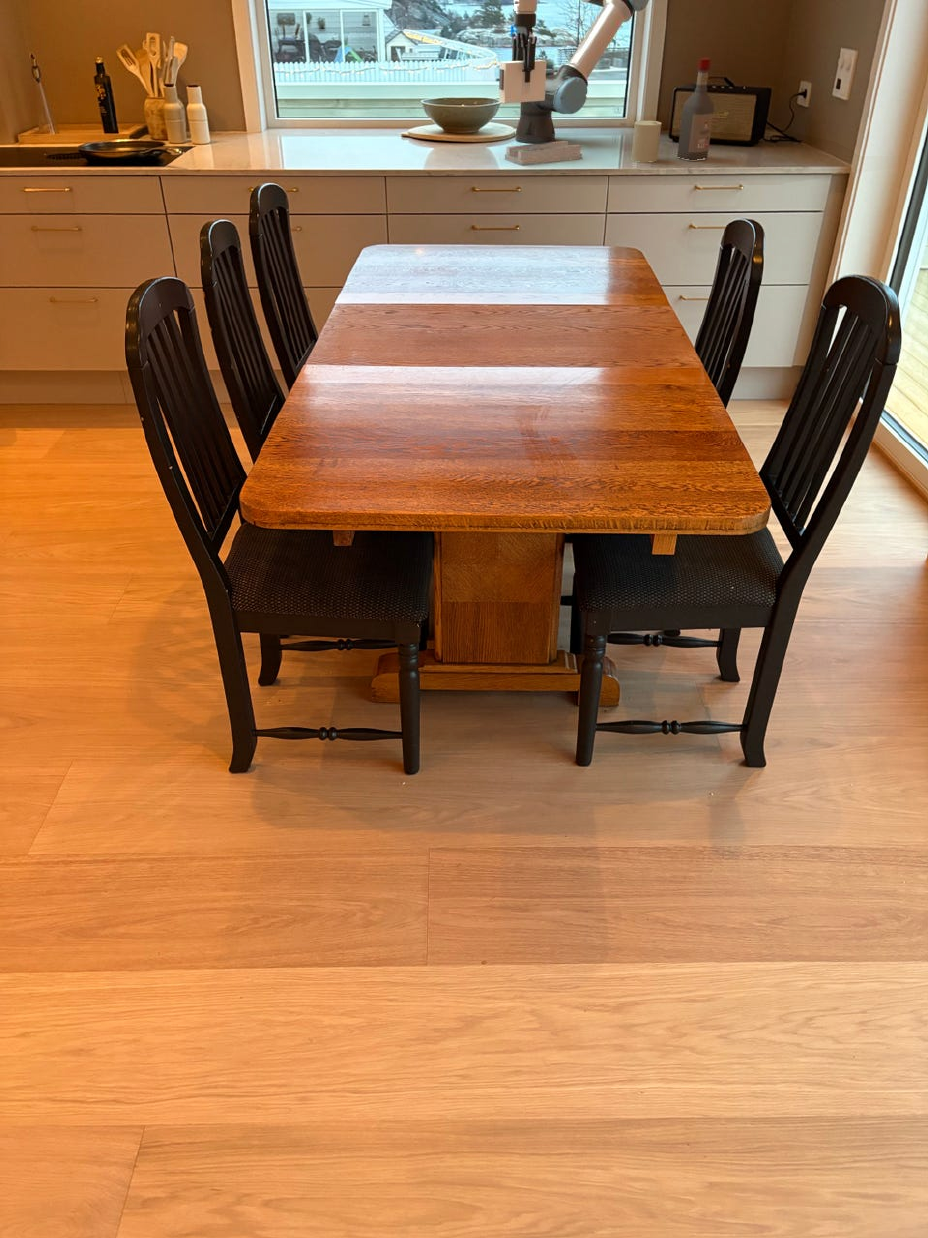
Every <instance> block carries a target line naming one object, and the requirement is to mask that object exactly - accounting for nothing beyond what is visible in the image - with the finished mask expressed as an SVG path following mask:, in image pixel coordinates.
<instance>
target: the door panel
mask: <svg viewBox="0 0 928 1238" xmlns="http://www.w3.org/2000/svg"><path fill="white" fill-rule="evenodd" d="M546 69H547V60H544V59H535V68H534V70H532V71H531V72H530V93H524V94H522V70H524V62H523V61H512V60H511V61H499V77H498V79H499V82H498V84H499V85H498V90H499V91H498V93H499V94H498V102H499V103H503V104H515V103H516V104H517V103H521V102H530V101H544V100H545V82H546Z"/></svg>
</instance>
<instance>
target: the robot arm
mask: <svg viewBox="0 0 928 1238" xmlns="http://www.w3.org/2000/svg"><path fill="white" fill-rule="evenodd" d="M580 1H581V2H583V3H589V4H592V5H595V6H599V7H601V8H602V9H601V11H600V12H599V14H598V15H597V17H596V18H595V20H594V22H592V25H591V26H590V28H589V29H588V31H587V32H586V35H585V36H584V38H583V39H582V40H581V42H580V43H579V45H578V47H577V49H576V51H575V52H574V53H573V55H572V57H571V58H570V60H569V61H568V63H563V64H561V66H560V68H559V69H558V71H557V72H556V73H555V71H554V69H553V68H546V82H545V100H544V101H530V102H520V112H519V113H520V117H519V120H518V123H517V126H516V130H515V132H516V136H515V135H514V140H515V141H517V142H521V143H525V144H526V143H527V144H540V143H549V142H555V140H556V131H555V127H554V122H553V118H552V114H553V113H558V114H559V115H560V114H562V115H574V114H576V113H578V112H579V111H580V110H581V109H582V108H583V107H584V105H585V103H586V101H587V95H588V87H589V82H588V79H589V77H590V75H591V74H592V72H593V71H594V69H595V67H596V66H597V64H598V63H599V61H600V59H601V58H602V56H603V55H604V53H605V51H606V50H607V48H608V47H609V45H610V43H611V42H612V40H613V39H614V37H615V36H616V34H617V32H618V31H619V29H620V28H621V27H622V24H623V23H628V22H629V21H630V20H631V19H632V17H633V15H634V13H635V12H641V11H643V10H644V9H645V8H646V7H647V6H648V3H649V1H650V0H580ZM513 6H514V7H513V10H514V12H515V13H514V14H513V26H514V27H516V31H515V33H511V39H512V40H511V41H512V45H511V46H512V51H511V54H512V55H511V58H512V59H511V61H523V62H524V70H522V94H524V93H530V72H531V71H532V70H534V68H535V60H536V51H537V50H536V47H537V46H536V45H537V41H538V36H536V35H533V34H534V32H533V27H535V26H536V25H537V14H536V12H537V11H538V10H537V7H538V0H513Z"/></svg>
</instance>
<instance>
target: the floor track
mask: <svg viewBox="0 0 928 1238" xmlns="http://www.w3.org/2000/svg"><path fill="white" fill-rule="evenodd" d="M581 146H582V145H580V144H571V145H570V144H569V141H567V140H561V141H560V140H559V141H552V142H546V143H529V144H522V145H520V144H519V145H512V146H506V150H505V151H506V152H505V154H504V160H506V161H509V162H511V163H514V164H517V165H520V166H528V165H527V164H531V165H535V163H539V164H547V163H546V162H548V163H555V161H557V162H563V160H566V161H571V160H570V159H574V160H579V159H578V158H582V157H583V154H582V153H581ZM582 159H583V158H582Z"/></svg>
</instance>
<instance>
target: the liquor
mask: <svg viewBox="0 0 928 1238" xmlns="http://www.w3.org/2000/svg"><path fill="white" fill-rule="evenodd" d="M710 66H711V58H708V57H707V58H706V57H704V58H703V57H702V58H699V61H698V68H697V70H698V73H697V79H696V86H695V88H694V92H693V93H692V94H691V95H690V96H689V97H688V99H687V100H685V102H684V104H683V106H682V113H681V124H680V131H679V139H678V146H677V158H678V157H680V158H684V159H689V160H697V159H703V158H706V159H707V158H708V154H709V148H710V147H709V146H710V140H711V132H712V125H713V118H714V111H715V104H714V101H713V99H712V98H711V97H710V95H709V93H708V87H707V85H708V78H709V71H710Z"/></svg>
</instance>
